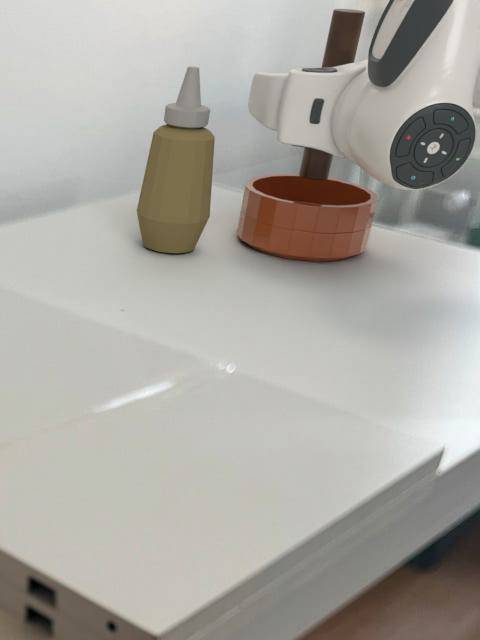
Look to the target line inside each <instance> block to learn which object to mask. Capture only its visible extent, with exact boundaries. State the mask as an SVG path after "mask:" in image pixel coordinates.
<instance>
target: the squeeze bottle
mask: <svg viewBox="0 0 480 640" xmlns="http://www.w3.org/2000/svg"><path fill="white" fill-rule="evenodd" d="M201 97H202V95H201V74H200V67H199V66H187V68H186V72H185V74H184V77H183V81H182V83H181V86H180V89H179V92H178V95H177V97H176V100H175V101H176V102H172V103H167V104H166V105H165V108H164V117H163V122H164V123H165V124H163V125H160V126H158V128H157V129H155V130H154V131H153V133H152V137H151V143H150V146H149V151H148V156H147V160H146V165H145V170H144V175H143V179H142V183H141V188H140V193H139V198H138V202H137V207H136V215H137V219H138V225H139V231H140V237H141V243H142V245H143V247H145V248H147V249H149V250H152V251H156V252H158V253H164V254H185V253H186V254H187V253H189V252H192V251H194V250H195V248H196V246H197V244H198V242H199V240H200V238H201V235H202V234H203V231H204V230H205V228H206V225H207V223H208V222H209V219H210V217H211V201H212V186H213V185H212V184H213V169H214V157H215V155H214V154H215V141H216V137H215V134H213V132H212V131H211V130H210V129H208V128H206V127H207V126H208V125H209V119H210V115H211V109H210V107H209V106H206V105H203V104H202V99H201Z"/></svg>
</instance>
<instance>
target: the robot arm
mask: <svg viewBox="0 0 480 640" xmlns="http://www.w3.org/2000/svg"><path fill="white" fill-rule="evenodd" d="M474 106H476V107H478V108H480V0H389V1H388V3H387V5H386V7H385V8H384V9H383V12H382V14H381V16H380V18H379V19H378V23H377V25H376V28H375V30H374V32H373V35H372V38H371V41H370V44H369V48H368V56H367V59H363V60H361V61H358V62H354V63H349V64H345V65H341V66H336V67H323V68H321V67H302V68H292V69H289V72H272V71H257V72H256V73H255V74H254V75H253V77H252V81H251V85H250V89H249V96H248V103H247V109H248V112H249V114H250V115H251V116H252V118H254V119H255V120H256V122H258V123H259V124H260V125H262V126H263V127H265V128H267V129H269V130H270V131H273V132H276V140H277V141H278V142H279V143H281V144H284V145H290V146H293V147H299V148H310V149H315V150H321V151H325V152H327V153H330V154H332V155H333V156H335V157H337V158H339V159H347V160H348V161H349V162H350V163H352V164H353V165H355V166H358V167H360V169H361V170H362V171H363V172H365V174H367V175H369V176H370V177H372V179H375V180H376V181H378V182H380V183H382V184H384V185H386V186H388V187H391V188H395V189H397V190H405V191H420V190H427V189H429V188H433V187H435V186H438V185H440V184H443V183H444V182H446V181H448V180H449V179H450V178H452V177H454V176H455V175H456V174H457V173H458V172H459V171H460V170H461V169H462V168H463V167H464V166H465V165H466V163H467V162H468V160H469V159H470V157H471V155H472V153H473V150H474V148H475V145H476V141H477V135H478V134H477V133H478V130H477V129H478V128H477V123H476V117H475V113H474Z"/></svg>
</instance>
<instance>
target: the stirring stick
mask: <svg viewBox="0 0 480 640" xmlns="http://www.w3.org/2000/svg"><path fill="white" fill-rule="evenodd" d="M365 15H366V11H363V10H361V9H360V10H359V9H351V8H334V9H333V10H332V14H331V20H330V24H329V29H328V33H327V39H326V44H325V48H324V53H323V58H322V62H321V67H320V68H323V67H336V66H341V65H345V64H349V63H355V60H356V56H357V51H358V48H359V47H358V46H359V43H360V38H361V34H362V29H363V25H364V21H365V17H366V16H365ZM303 148H304V149H303V154H302V159H301V163H300V166H299V167H300V168H299V172H298V175H299V176H300V177H302V178H305V179H310V180H326V179H328V178H329V175H330V171H331V167H332V162H333V158H334V155H332V154H330V153H327V152H325V151H321V150H315V149H310V148H305V147H303Z"/></svg>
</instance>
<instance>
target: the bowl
mask: <svg viewBox="0 0 480 640" xmlns="http://www.w3.org/2000/svg"><path fill="white" fill-rule="evenodd" d="M378 201H379V197H378V194H377V193H376V192H374V191H373V190H372V189H369V188H368V187H365V186H363V185H360V184H357V183H354V182H351V181H350V182H349V181H346V180H342V179H339V178H338V179H337V178H332V177H328V179H326V180H310V179H305V178H302V177H300V176H299V174H296V173H295V174H293V173H278V174H265V175H264V174H263V175H259V176H258V175H257V176H254V177H252V178H250V179H247V180H246V182H245V184H244V190H243V197H242V202H241V206H240V207H241V208H240V214H239V217H238V218H239V219H238V225H237V229H236V230H237V231H236V235H237V236H238V237H239V239H240V240H241V241H243V242H245V243H246V244H247V245H248V246H250V247H251V248H253V249H254V250H256V251H259V252H262V253H264V254H267V255H272V256H274V257H279V258H284V259H290V260H297V261H306V262H307V261H308V262H333V261H334V262H335V261H340V260H345V259H349V258H350V257H353V256H356V255H360V254H361V253H363V252H364V251H366V249H367V245H368V241H369V237H370V233H371V230H372V225H373V222H374V219H375V218H374V217H375V214H376V210H377V205H378Z"/></svg>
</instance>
